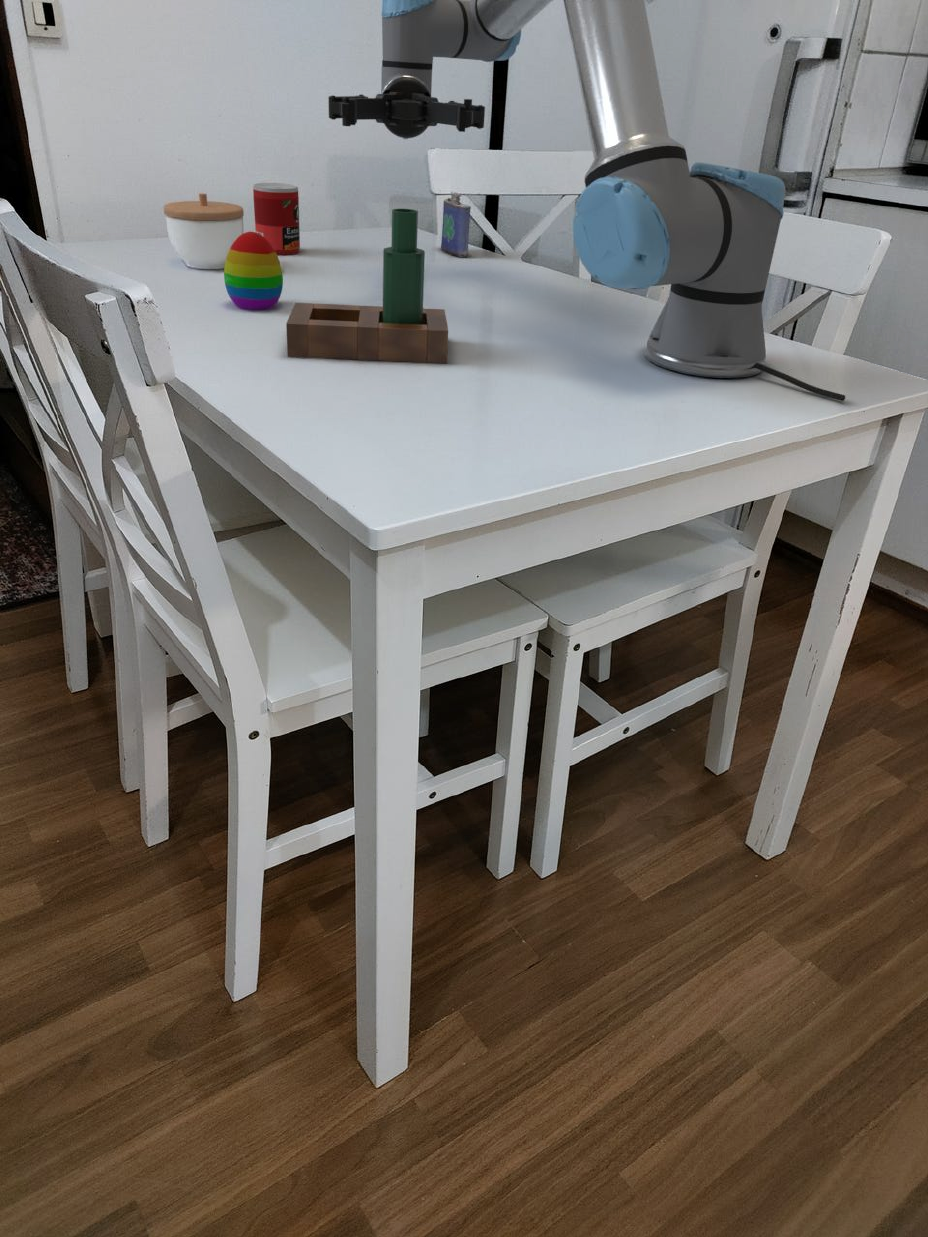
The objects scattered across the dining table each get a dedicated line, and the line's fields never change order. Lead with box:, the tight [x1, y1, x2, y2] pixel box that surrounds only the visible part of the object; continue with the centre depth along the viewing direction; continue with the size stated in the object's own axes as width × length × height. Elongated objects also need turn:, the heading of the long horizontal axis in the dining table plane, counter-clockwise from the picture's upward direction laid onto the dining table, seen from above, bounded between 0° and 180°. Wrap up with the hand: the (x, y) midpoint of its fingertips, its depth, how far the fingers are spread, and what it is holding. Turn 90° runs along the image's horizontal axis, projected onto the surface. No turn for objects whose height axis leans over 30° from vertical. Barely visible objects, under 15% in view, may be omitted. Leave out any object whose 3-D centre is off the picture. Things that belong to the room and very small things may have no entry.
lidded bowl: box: [163, 192, 245, 270], centre depth 154 cm, size 13×13×11 cm
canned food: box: [252, 182, 301, 256], centre depth 168 cm, size 8×8×11 cm
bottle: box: [382, 208, 426, 325], centre depth 115 cm, size 5×5×16 cm
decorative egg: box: [223, 231, 284, 311], centre depth 132 cm, size 8×8×10 cm
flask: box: [440, 191, 471, 258], centre depth 177 cm, size 9×3×11 cm, turn 25°
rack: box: [285, 302, 449, 364], centre depth 118 cm, size 20×11×4 cm, turn 93°
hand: (407, 115), depth 114 cm, fingers open, 13 cm apart
